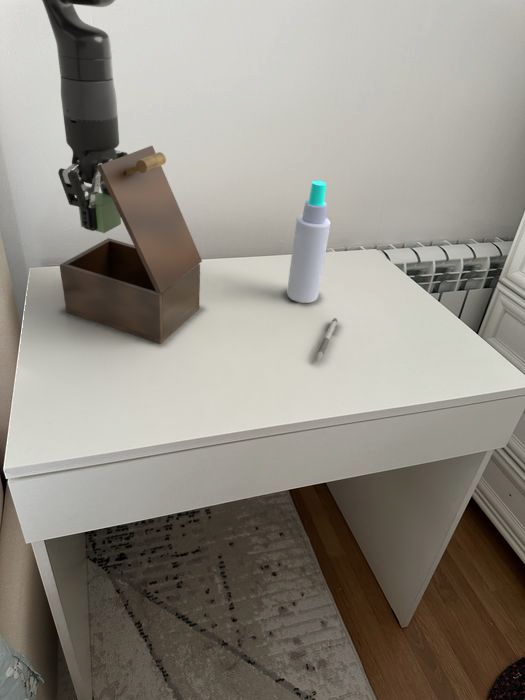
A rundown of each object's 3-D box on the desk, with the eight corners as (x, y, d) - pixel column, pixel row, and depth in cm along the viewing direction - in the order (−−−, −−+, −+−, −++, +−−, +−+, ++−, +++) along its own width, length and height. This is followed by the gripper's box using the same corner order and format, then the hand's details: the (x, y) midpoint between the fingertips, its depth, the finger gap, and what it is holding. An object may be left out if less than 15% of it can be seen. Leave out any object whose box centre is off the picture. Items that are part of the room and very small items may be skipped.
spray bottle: (323, 296, 104) (343, 184, 91) (306, 307, 100) (324, 191, 87) (298, 285, 106) (314, 174, 94) (280, 295, 102) (294, 181, 90)
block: (104, 233, 84) (101, 205, 82) (80, 226, 86) (77, 199, 83) (121, 224, 88) (119, 197, 85) (98, 218, 89) (96, 191, 87)
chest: (66, 311, 91) (59, 264, 86) (112, 281, 101) (108, 237, 96) (160, 344, 86) (159, 296, 81) (199, 308, 96) (200, 264, 91)
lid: (96, 166, 73) (122, 155, 71) (148, 146, 83) (173, 136, 81) (157, 293, 81) (182, 288, 78) (198, 262, 91) (222, 256, 88)
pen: (337, 323, 96) (339, 316, 95) (319, 366, 85) (320, 359, 84) (332, 322, 96) (333, 315, 95) (313, 364, 85) (314, 357, 84)
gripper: (100, 100, 83) (108, 206, 93) (33, 115, 72) (51, 233, 82) (140, 108, 81) (145, 215, 91) (78, 125, 70) (91, 245, 80)
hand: (100, 223), depth 87 cm, fingers closed on block, 4 cm apart
